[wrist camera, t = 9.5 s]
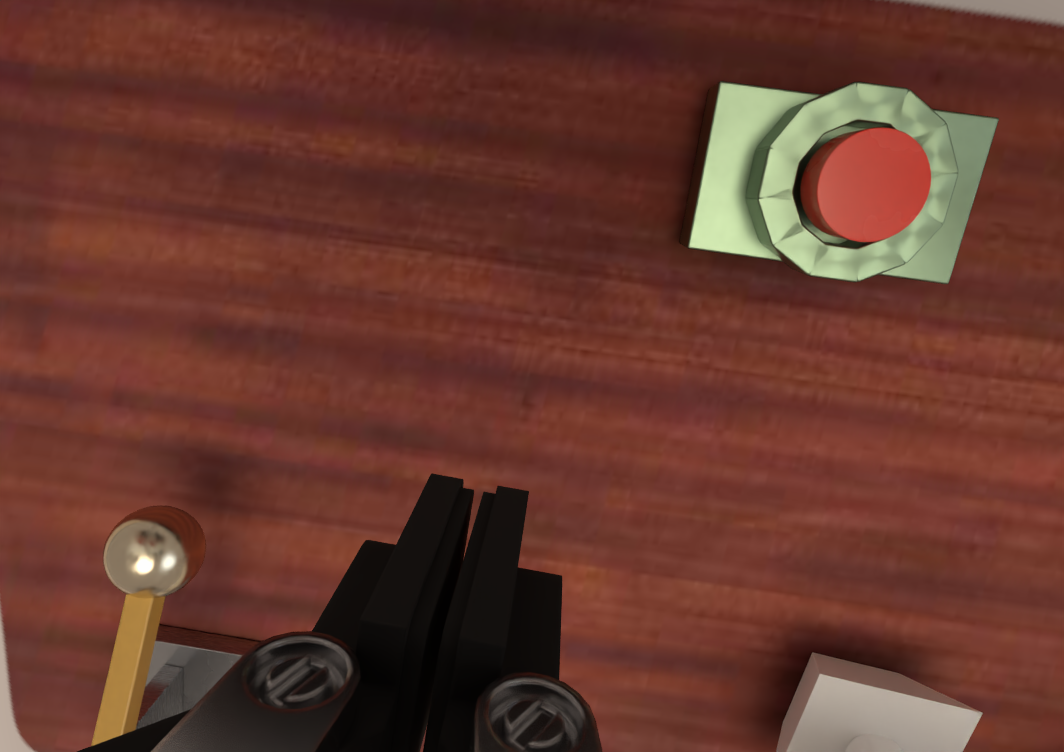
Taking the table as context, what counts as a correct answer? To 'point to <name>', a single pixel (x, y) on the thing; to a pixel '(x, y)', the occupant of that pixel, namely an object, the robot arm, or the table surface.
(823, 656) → the figurine
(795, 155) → the button box
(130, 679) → the lever
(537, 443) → the table surface
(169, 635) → the bracket
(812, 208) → the button
